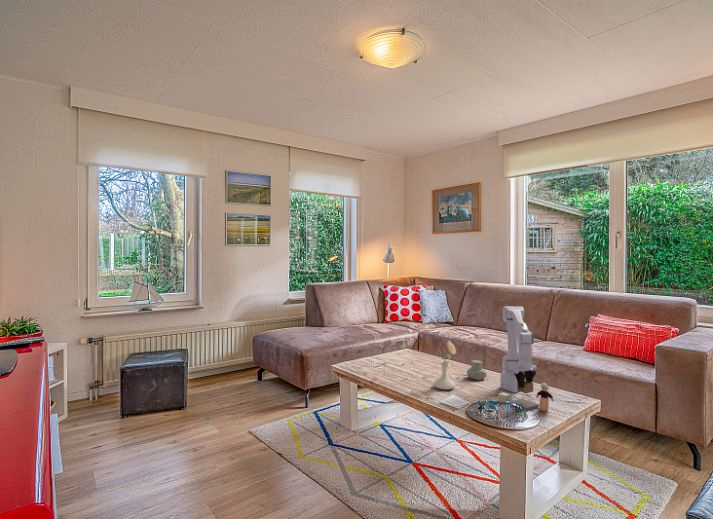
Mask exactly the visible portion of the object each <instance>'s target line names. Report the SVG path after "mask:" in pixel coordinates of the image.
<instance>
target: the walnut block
mask: <svg viewBox="0 0 713 519" xmlns="http://www.w3.org/2000/svg"><path fill="white" fill-rule="evenodd" d="M517 391H518V392H520V393H524V394H527V395H528V394H529V393H533V392H534V382H532V383H531V382H528V381H526V379H525V380H524V387H523V388H520V387H519V386H518V382H517Z"/></svg>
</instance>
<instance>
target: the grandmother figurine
mask: <svg viewBox="0 0 713 519" xmlns="http://www.w3.org/2000/svg"><path fill="white" fill-rule="evenodd" d="M540 388H541V390H539V391H538V392H537V394H536V396H535V398H536V399H538V398H539V408H537V411H539V412H542V411H543V412H544V413H549V407H550V406H549V399H550V401H551V402H554V401H555V400H554V396H553V395H552V394H551V393H550V392H549V391H548V390H549V389H550V387H549V385H548V384H547V383H546V382H543V383H541V384H540Z"/></svg>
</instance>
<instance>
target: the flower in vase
mask: <svg viewBox="0 0 713 519" xmlns="http://www.w3.org/2000/svg"><path fill="white" fill-rule="evenodd" d="M446 346H447V352H446V354H445V356H442V357H441V359H442V360H440V361H439V364H440V365H441V371H442V372H441V373H442V374H441V376H439V377H438V378H437V379H436V380H435V381H433V386H434V387H435V388H437V389H439V390H452V389H454V388H455V387H456V384H455V383H454V381H453V380H451V379H450V378H449V377H448V374H447V370H448V365H449V364H450V362H449V361H446V360H447V358H448V359H449V360H451V358H452V355H456V353H457V351H456V350H457V349H456V347H455V345H454V343H452V341H451V340H447V343H446Z"/></svg>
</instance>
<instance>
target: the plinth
mask: <svg viewBox="0 0 713 519" xmlns="http://www.w3.org/2000/svg"><path fill="white" fill-rule="evenodd" d="M510 402H511V403H514V404H516V405H518V406H519V407H521V408H522V409H524V410H525V412H528V411H532V410H535V409H538V408H539V405H540V403H536V402H533V401H531V400H528V399H525V398H519V399H515V400H512V401H511V400H510ZM522 409H521V410H522ZM524 410H523V411H524Z"/></svg>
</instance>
